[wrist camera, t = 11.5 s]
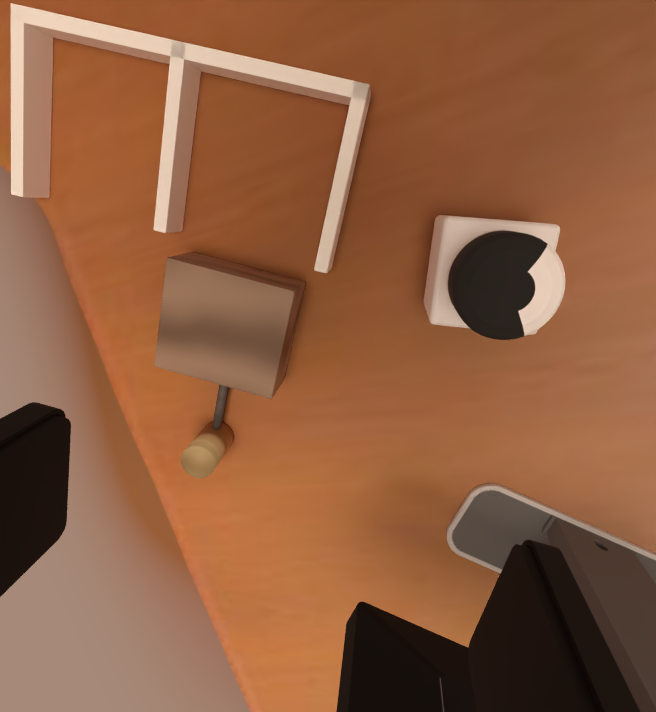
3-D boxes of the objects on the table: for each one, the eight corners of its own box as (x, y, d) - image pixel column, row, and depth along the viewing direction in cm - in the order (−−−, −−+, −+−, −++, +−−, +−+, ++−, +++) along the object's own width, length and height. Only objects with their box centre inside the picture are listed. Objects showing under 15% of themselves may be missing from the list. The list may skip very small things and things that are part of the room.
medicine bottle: (422, 304, 38) (435, 345, 26) (435, 214, 36) (455, 216, 24) (511, 313, 37) (563, 359, 26) (530, 222, 35) (596, 227, 23)
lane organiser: (41, 20, 35) (10, 3, 32) (371, 94, 34) (369, 84, 31) (38, 195, 39) (11, 194, 36) (331, 268, 38) (326, 273, 35)
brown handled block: (194, 251, 39) (164, 258, 34) (306, 281, 39) (293, 292, 34) (169, 432, 45) (140, 461, 40) (266, 460, 45) (250, 493, 39)
